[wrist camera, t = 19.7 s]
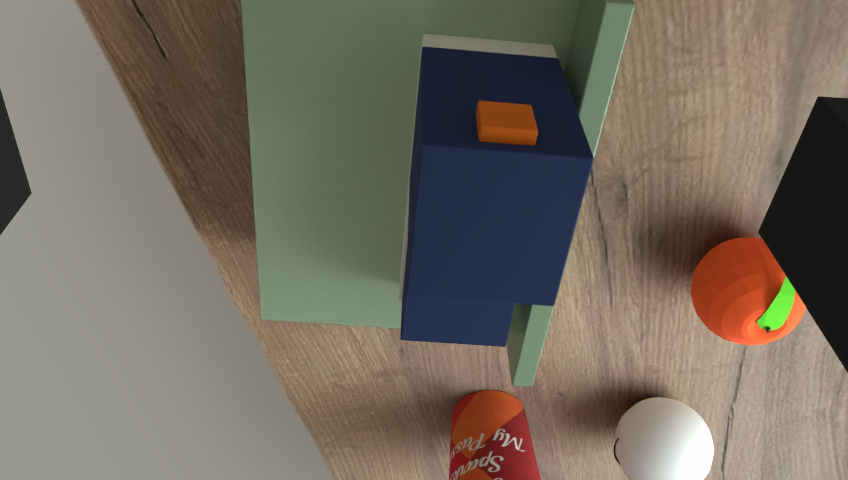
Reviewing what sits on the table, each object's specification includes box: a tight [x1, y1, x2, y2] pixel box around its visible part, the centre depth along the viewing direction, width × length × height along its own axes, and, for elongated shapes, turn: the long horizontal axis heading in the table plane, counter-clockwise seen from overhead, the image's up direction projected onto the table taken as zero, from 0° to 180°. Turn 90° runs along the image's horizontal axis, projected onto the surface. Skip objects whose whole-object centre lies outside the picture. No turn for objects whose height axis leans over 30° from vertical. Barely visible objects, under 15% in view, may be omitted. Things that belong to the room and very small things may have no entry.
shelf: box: [241, 0, 635, 387], centre depth 38 cm, size 16×22×11 cm
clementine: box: [691, 237, 806, 345], centre depth 46 cm, size 8×7×7 cm
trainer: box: [398, 34, 594, 347], centre depth 33 cm, size 16×6×10 cm, turn 175°
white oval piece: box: [614, 397, 714, 480], centre depth 57 cm, size 10×7×7 cm
